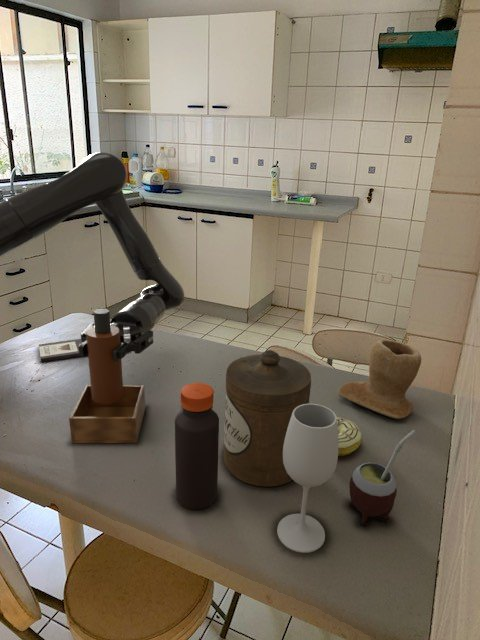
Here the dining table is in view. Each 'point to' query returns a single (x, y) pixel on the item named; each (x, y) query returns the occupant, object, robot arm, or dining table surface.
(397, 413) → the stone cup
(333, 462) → the wineglass
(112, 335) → the sauce bottle
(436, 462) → the dining table surface
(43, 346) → the chocolate bar
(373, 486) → the mate gourd
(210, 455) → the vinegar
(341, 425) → the decorated donut
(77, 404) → the wooden box
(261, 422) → the wooden container
